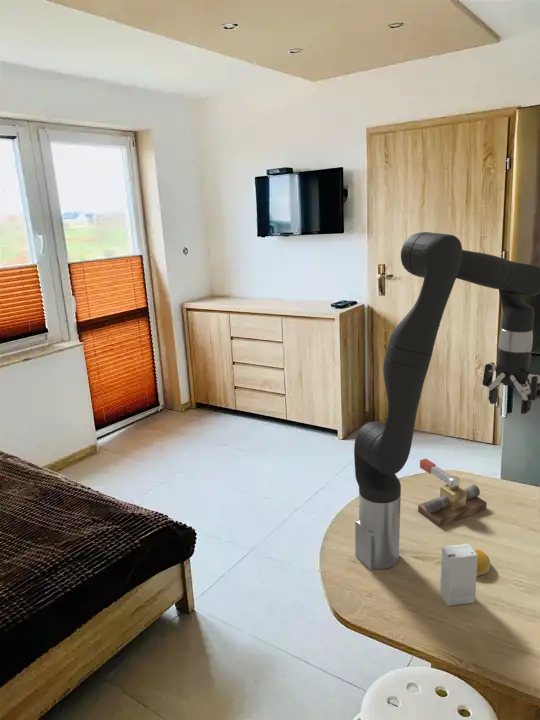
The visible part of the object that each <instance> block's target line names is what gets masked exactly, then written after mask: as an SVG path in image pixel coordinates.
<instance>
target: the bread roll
mask: <svg viewBox="0 0 540 720" xmlns="http://www.w3.org/2000/svg"><path fill="white" fill-rule="evenodd" d="M461 544H462V543H460V544H458V545H461ZM473 550H474V551H475V552H476V554H477V555H478V560H477V576H476V577H478V576H482V575H485V574H488V572H489V571H490V570H491V569H490V568H491V560H490V558H489V556H488V555H487V553H486V552H484V551H483V550H482V549H480V548H479V549H477V548H473Z"/></svg>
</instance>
